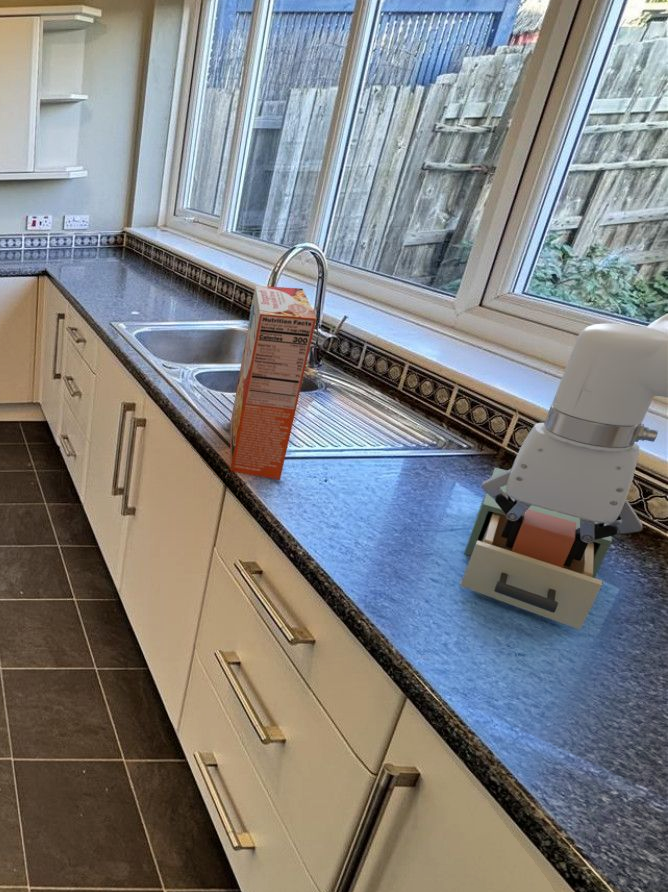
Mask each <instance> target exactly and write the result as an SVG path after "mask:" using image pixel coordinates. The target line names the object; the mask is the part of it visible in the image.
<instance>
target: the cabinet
mask: <svg viewBox="0 0 668 892" xmlns="http://www.w3.org/2000/svg"><path fill="white" fill-rule="evenodd" d="M505 471H507V469H502V468H498V467H494V469H493V471H492V473H491V476H490V478H492V477H494V476H496V475H498V474H501V473H503V472H505ZM506 486H507V485H504V486H502V487H500V488H501V489H502V491H503V492H505V493H506ZM510 498H511V497H510ZM511 499H512V500H513V501H514V500H515V499H513V498H511ZM528 509H529V510H533V511H536V512H540V513H543V514H547V515H550V516H554V517H557V518H561V519H565V520H568V521H572V522H575V523H576V530H577V528H580V518H577V517H573V516H570V515H566V514H562V513H559V512H555V511H551V510H548V509H544V508H541V507H537V506H533V505H531V506H530V507H529V508H528ZM492 512H494V513H498V514H501V515H505V516H506V514H505V513H504V512H503V510H502V509H501V508H500V507H499V505H498V504H497V503H496V501H495V500H494V499H493V498H492V497H491V496H490V495H489V494H487V493H486V492H485V491H484V495H483V498H482V501H481V503H480V506H479V509H478V511H477V513H476V516H475V520H474V523H473V526H472V529H471V532H470V535H469V538H468V541H467V545H466V547H465V550H464V553H463V554H464V555H466V556H468V557H471V555H472V553H473V550H474V547H475V545H476V542H477V540H478V541H482V538H483V536H484V533H485V531H486V528H487V525H488V523H489V520H490V517H491V515H492ZM595 524H598V523H597V522H595ZM593 542H594V559H593V575H592V577H593V578H596V576H597V574H598V572H599V570H600V568H601V565H602V564H603V562H604V560H605V557H606V556H607V553H608V551H609V549H610V547H611V544H612V542H613V536H610V537H605V538H601V539H597V540H594V541H593Z"/></svg>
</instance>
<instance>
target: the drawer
mask: <svg viewBox="0 0 668 892" xmlns="http://www.w3.org/2000/svg"><path fill="white" fill-rule="evenodd" d="M506 521H507V517H506V516H505V515H501V514H498V513H494V512H492V515H491V517H490V520H489V523H488V525H487V528H486V531H485V533H484V536H483V538H482V541H478V540H477V542H476V545H475V547H474V550H473V553H472V555H471V556H470V558H469V560H468V564H467V566H466V568H465V571H464V574H463V577H462V579H461V581H460V585H459V586H460V587H462V588H464V589H466V590H470V591H473V592H475V593H478V594H481V595H484V596H487V597H489V598H492V599H495V600H498V601H499V602H502V603H505V604H508V605H510V606H514V607H516V608H518V609H521V610H525V611H527V612H530V613H533V614H536V615H538V616H541V617H543V618H547V619H549V620H552V621H554V622H558V623H560V624H563V625H566V626H568V627H571V628H574V629H576V630H580V631H581V629H582V627H583V625H584V623H585V621H586V619H587V617H588V615H589V613H590V611H591V609H592V607H593V605H594V603H595V600H596V599H597V596H598V594H599V593H600V590H601V588H602V587H603V580H601V579H599V578H596V577H595V578H593V577H592V575H593V559H594V542H592V543H588V545H587V547H586V550H585V552H584V554H583V556H582V559H581V561H578V560H575V559H573V561H572V563H571V566H570V567H567V566H564V565H563V568H562V567H559V566H555V565H552V564H549V563H546V562H543V561H540V560H537V559H534V558H531V557H528V556H524V555H521V554H518V553H515V552H512V551H511V549H512V548H507V547H505V545H506V541H507V538H504V537H501V534H502V531H503V529H504V526H505V524H506Z"/></svg>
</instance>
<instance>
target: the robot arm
mask: <svg viewBox="0 0 668 892" xmlns="http://www.w3.org/2000/svg"><path fill="white" fill-rule="evenodd" d="M655 397H662V398H668V313H666V314H663V315H662V316H660V317H659V318H657V319H655V320H654V321H652V322H651V323H649V324H648V325H647V326H641V325H634V324H626V323H615V322H613V323H612V322H609V323H608V322H604V323H594V324H591V325H589V326H587V327H585V328H583V329H582V330H581V331H580V332H579V334H578V335H577V338H576V340H575V343H574V345H573V348H572V351H571V353H570V356H569V359H568V360H567V364H566V366H565V369H564V372H563V373H562V377H561V380H560V382H559V385H558V387H557V390H556V393H555V395H554V397H553V400H552V403H551V404H550V407H549V410H548V412H547V415H546V418H545V420H544V422H537V423H535V424H534V425H533V427H532V428H531V429H530V431H529V432H528V434H527V436H526V437H525V439H524V441H523V442H522V444H521V446H520V447H519V450H518V452H517V454H516V457H515V459H514V461H513V463H512V465H511V468H510V469H508V470H507V469H506V470H507V471H505V472H503V473H501V474H498V475H496V476H494V477H492V478H491V477H490V478H487V479H485V480H483V481H482V483H481V488H482V490H483V491H484V493H485V492H486V493H487V494H489V495H490V496H491V497H492V498H493V499H494V500H495V501H496V503H497V504H498V505H499V507H500V508H501V509H502V510H503V512H504V513H505V514H506V517H507V521H506V524H505V526H504V529H503V531H502V534H501V537H504V538H507V541H506V545H505V547H507V548H512V547H513V545H514V542H515V540H516V537H517V535H518V532H519V530H520V527H521V524H522V520H523V514H524V513H525V512H526V510H527V509H528V508H529V507H530V506H531V505H533V506H537V507H541V508H544V509H548V510H551V511H555V512H559V513H562V514H566V515H570V516H573V517H577V518H580V528H577V530H576V535H575V541H574V543H573V545H572V547H571V550H570V552H569V554H568V556H567V559H566V561H565V563H564V566H567V567H570V566H571V563H572V561H573V559H575V560H578V561H581V559H582V556H583V554H584V552H585V550H586V547H587V545H588V543H592V542H593V541H594V540H597V539H601V538H605V537H610V536H612V537H613V536H616V535H618V534H621V535H623V534H632V533H639V532H642V530H643V528H644V527H643V523H642V520H641V519H640V518H639V516H638V515H637V512H635V510H634V509H633V507H632V505H631V504H630V502H629V500H628V499H627V498H628V495H629V492H630V489H631V486H632V483H633V480H634V477H635V472H636V468H637V464H638V462H639V456H640V455H639V454H640V446H639V444H637V443H638V442H639V441H642V442H644V441H646V442H647V441H648V442H652V443H654V442H655V441H656V439H657V437H658V433H659V431H658V430H655V429H651V428H650V427H648V426H647V427H646V426H645V424H644V423H643V422H644V419H645V417H646V415H647V413H648V411H649V408H650V406H651V404H652V402H653V399H654V398H655ZM504 485H507V486H506V493H505V492H503V491H502V489H501V488H500V487H502V486H504ZM510 497H511V498H513V499H515V500H514V501H513V500H512V499H511V498H510ZM619 517H620V519H618V518H619ZM617 519H618V520H617ZM595 522H597V523H598V524H595Z"/></svg>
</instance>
